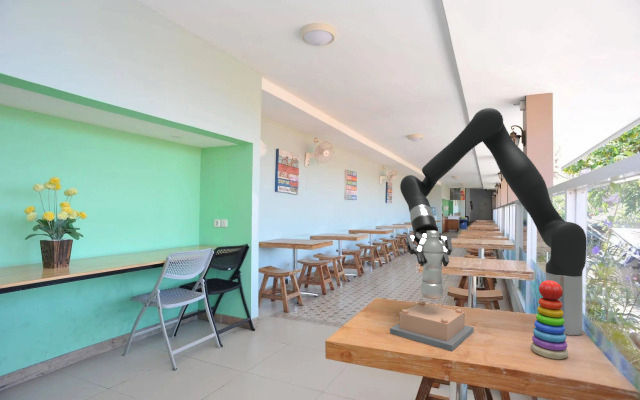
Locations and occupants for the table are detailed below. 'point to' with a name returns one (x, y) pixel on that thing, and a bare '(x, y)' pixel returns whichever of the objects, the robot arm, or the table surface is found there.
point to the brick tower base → (434, 340)
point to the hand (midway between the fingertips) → (434, 264)
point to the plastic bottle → (432, 266)
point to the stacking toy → (550, 323)
